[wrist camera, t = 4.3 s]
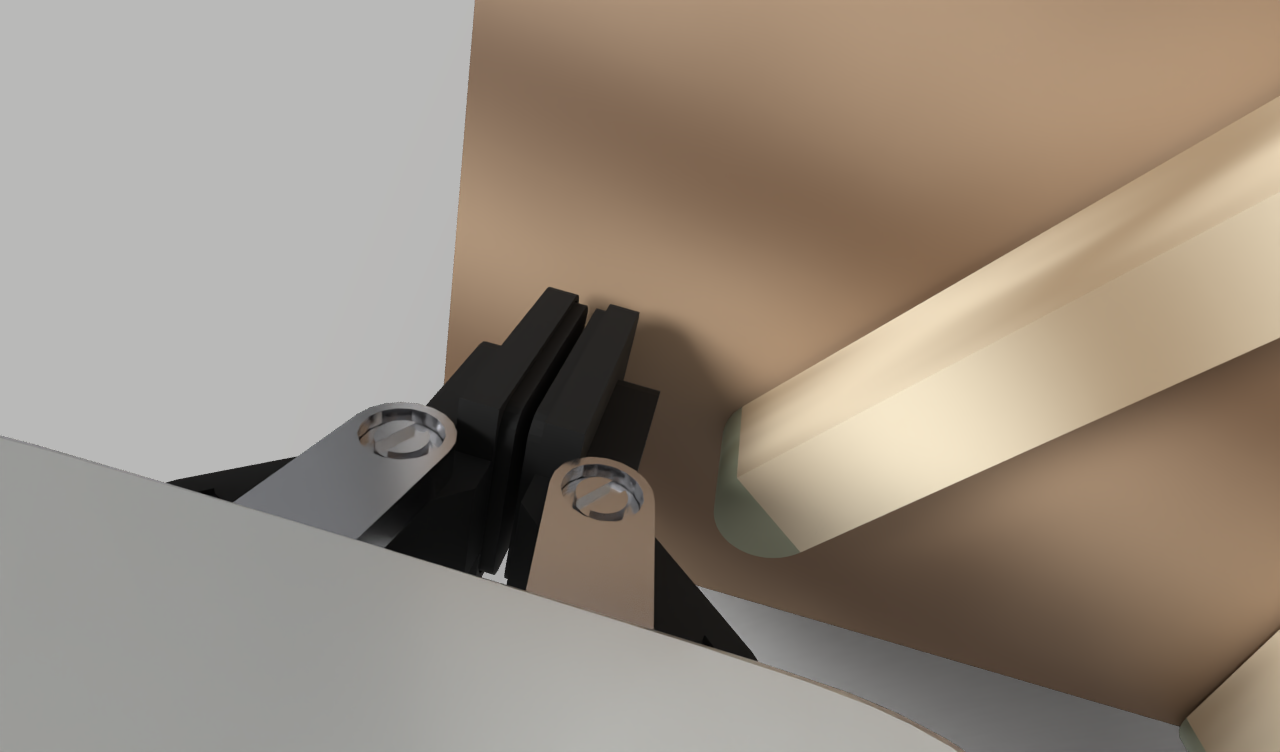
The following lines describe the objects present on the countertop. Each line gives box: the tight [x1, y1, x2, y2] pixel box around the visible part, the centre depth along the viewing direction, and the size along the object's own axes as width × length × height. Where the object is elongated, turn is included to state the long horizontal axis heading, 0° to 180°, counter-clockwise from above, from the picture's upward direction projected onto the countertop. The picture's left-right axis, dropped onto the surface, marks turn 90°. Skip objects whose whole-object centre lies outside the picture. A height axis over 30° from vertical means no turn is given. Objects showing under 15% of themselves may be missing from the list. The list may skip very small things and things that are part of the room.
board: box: [444, 0, 1280, 726], centre depth 12 cm, size 17×24×2 cm
